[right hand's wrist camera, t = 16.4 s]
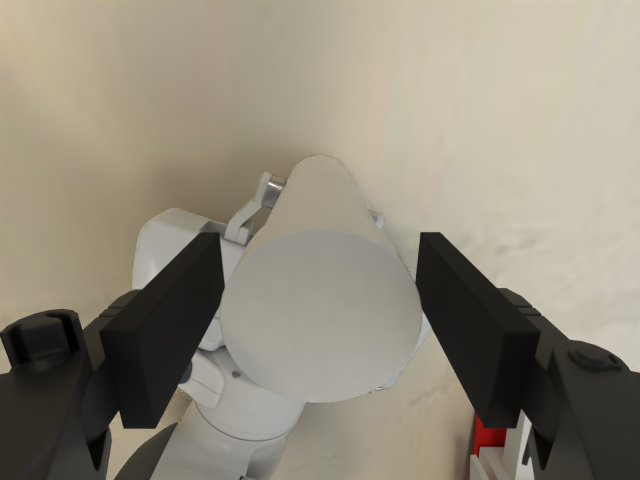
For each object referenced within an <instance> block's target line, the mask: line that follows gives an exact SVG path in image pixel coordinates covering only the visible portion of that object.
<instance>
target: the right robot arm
mask: <svg viewBox="0 0 640 480" xmlns="http://www.w3.org/2000/svg"><path fill="white" fill-rule="evenodd" d="M415 284H416V287H417V290H418V293H419V295H420V300H421V306H422V310H423V312H424V314H425V316H426V318H427V320H428V322H429V323H430V325H431V327H432V329H433V331H434V333H435V335H436V337H437V339H438V341H439V343H440V344H441V346H442V348H443V350H444V352H445V354H446V356H447V358H448V360H449V362H450V364H451V366H452V367H453V369H454V371H455V373H456V375H457V377H458V379H459V381H460V383H461V385H462V387H463V388H464V390H465V392H466V394H467V396H468V398H469V400H470V402H471V404H472V406H473V408H474V409H475V411H476V413H477V415H478V417H479V419H480V421H481V423H482V425H483V427H484V429H516V427H517V424H518V420H519V416H520V412H521V409H522V410H523V412H524V413H525V415H526V416H527V418H528V419H529V421H530V422H531V423H532V425H531V428H530V432H529V435H528V439H527V443H526V446H525V450H524V453H523V458H522V465H525V466H527V464H528V461H529V458H530V457H531V461H532V467H533V473H534V480H640V373H638V372H633V371H630V369H629V368H628V366H627V365H626V364H625V363H624V362H623V361H622V360H621V359H620V358H618V357H617V356H615V355H614V354H612V353H611V352H609V351H607V350H605V349H603V348H601V347H598V346H596V345H593V344H590V343H586V342H583V341H575V340H570V339H568V338H567V337H566V336H565V335H564V334H563V333H562V332H561V331H560V330H558V329H557V328H556V327H555V326H554V325H553V324H552V323H551V322H550V321H548V320H547V319H546V318H545V317H544V316H541V313H540V312H538V311H537V310H536V309H535V308H532V305H531V304H530V303H529V302H527V301H526V300H525V299H524V298H523V297H522V296H520V295H518V294H516V293H514V292H512V291H511V290H509V289H507V288H496V287H495V286H494V285H493V284H492V283H491V282H490V281H489V280H488V279H487V278H486V277H485V276H484V275H483V274H482V273H481V272H480V271H479V270H478V269H477V268H476V267H475V266H474V265H473V264H472V263H471V262H470V261H469V260H468V259H467V258H466V257H465V256H464V255H463V254H462V253H461V252H460V251H459V250H458V249H457V248H455V247H454V246H453V245H452V244H451V243H450V242H449V241H448V240H447V239H446V238H445V237H444V236H443V235H442V234H441V233H440V232H421V234H420V243H419V253H418V262H417V272H416V281H415ZM224 289H225V281H224V272H223V262H222V253H221V243H220V234H219V232H200V233H199V234H198V235H197V236H196V237H195V238H194V239H193V240H192V241H191V242H190V243H189V244H188V245H187V246H186V247H185V248H183V249H182V250H181V251H180V252H179V253H178V254H177V255H176V256H175V257H174V258H173V259H172V260H171V261H170V262H169V263H168V264H167V265H166V266H165V267H164V268H163V269H162V270H161V271H160V272H159V273H158V274H157V275H156V276H155V277H154V278H153V279H152V280H151V281H150V282H149V283H148V284H147V285H146V286H145V287H144V288H143V289H134V290H132V291H130V292H128V293H126V294H124V295H123V296H121V297H119V298H118V299H116V300H115V301H114V302H113V303H112V304H111V305H110V306H109V307H108V309H105V310H104V311H103V312H102V313H101V314H100V315H99V317H97V318H96V319H94V320H93V321H92V322H91V323H90V324H89V325H88V326H87V327H86V328H85V329H83V330H82V327H81V324H80V320H79V316H78V313H76V312H74V311H73V310H67V309H57V310H48V311H44V312H40V313H36V314H33V315H30V316H27V317H25V318H22V319H19V320H18V321H16V322H14V323H12V324H10V325H9V326H7V327H6V328H5V329H4V330H3V331H1V332H0V337H1V340H2V343H3V345H4V348H5V351H6V353H7V356H8V359H9V361H10V364H11V367H12V368H11V370H10V372H9V373H5V374H0V480H106V474H107V468H108V462H109V455H110V449H111V443H112V438H111V432H110V428H109V424H110V422H111V421H112V420H113V418H114V417H115V415H116V414H117V412H118V411H119V412H120V416H121V420H122V424H123V427H124V429H156V427H157V425H158V423H159V421H160V419H161V417H162V415H163V413H164V411H165V409H166V408H167V406H168V404H169V402H170V400H171V398H172V396H173V394H174V392H175V390H176V388H177V387H178V385H179V383H180V381H181V379H182V377H183V375H184V373H185V371H186V369H187V367H188V365H189V364H190V362H191V360H192V358H193V356H194V354H195V352H196V350H197V348H198V346H199V344H200V343H201V341H202V339H203V337H204V335H205V333H206V331H207V329H208V327H209V325H210V323H211V322H212V320H213V318H214V316H215V314H216V312H217V310H218V308H219V306H220V303H221V299H222V294H223V291H224Z"/></svg>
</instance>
